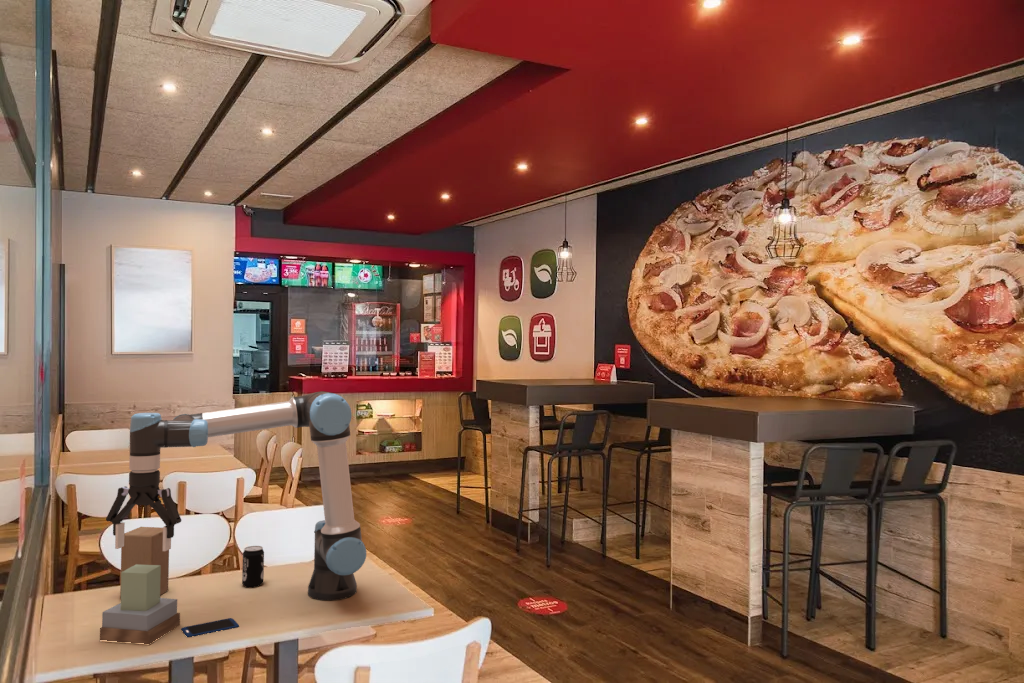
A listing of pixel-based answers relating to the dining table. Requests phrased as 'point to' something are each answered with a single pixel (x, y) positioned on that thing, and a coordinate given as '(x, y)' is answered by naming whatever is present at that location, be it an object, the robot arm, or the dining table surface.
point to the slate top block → (139, 616)
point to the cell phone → (209, 627)
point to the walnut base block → (140, 632)
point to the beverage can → (253, 566)
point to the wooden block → (146, 552)
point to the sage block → (140, 587)
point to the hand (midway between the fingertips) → (143, 548)
